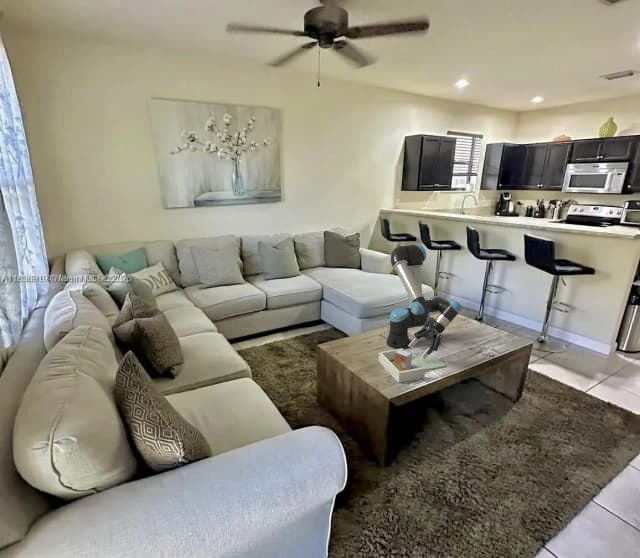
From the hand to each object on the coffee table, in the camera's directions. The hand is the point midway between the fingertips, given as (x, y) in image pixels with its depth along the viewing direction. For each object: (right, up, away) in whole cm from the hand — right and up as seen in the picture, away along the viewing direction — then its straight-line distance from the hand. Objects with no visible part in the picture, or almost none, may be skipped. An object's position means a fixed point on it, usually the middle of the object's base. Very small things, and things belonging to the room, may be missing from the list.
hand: (416, 352), depth 202 cm
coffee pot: (+22, +1, +39) cm, 45 cm away
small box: (-7, -10, +3) cm, 13 cm away
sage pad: (+10, -8, +8) cm, 15 cm away
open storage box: (-8, -10, +3) cm, 13 cm away
